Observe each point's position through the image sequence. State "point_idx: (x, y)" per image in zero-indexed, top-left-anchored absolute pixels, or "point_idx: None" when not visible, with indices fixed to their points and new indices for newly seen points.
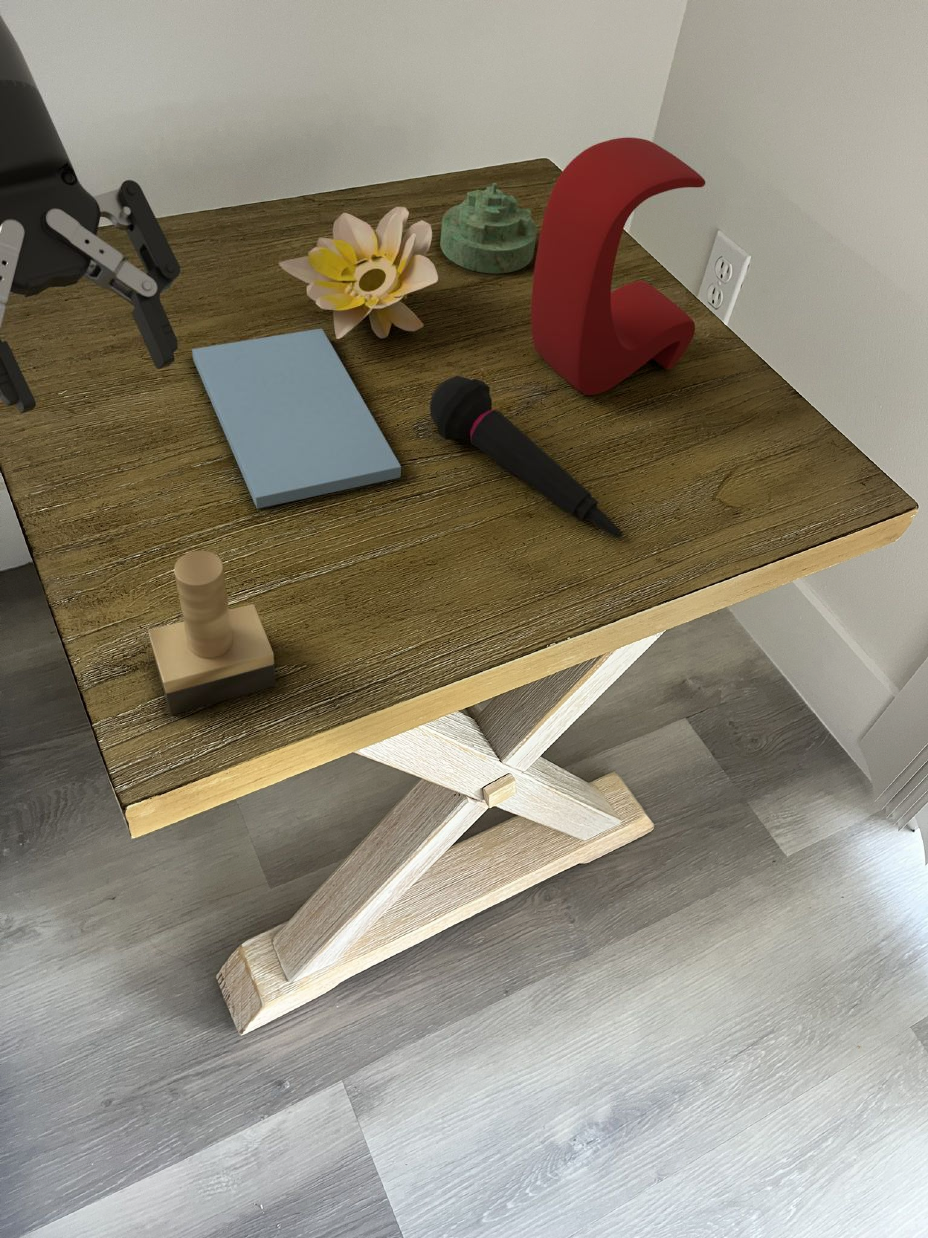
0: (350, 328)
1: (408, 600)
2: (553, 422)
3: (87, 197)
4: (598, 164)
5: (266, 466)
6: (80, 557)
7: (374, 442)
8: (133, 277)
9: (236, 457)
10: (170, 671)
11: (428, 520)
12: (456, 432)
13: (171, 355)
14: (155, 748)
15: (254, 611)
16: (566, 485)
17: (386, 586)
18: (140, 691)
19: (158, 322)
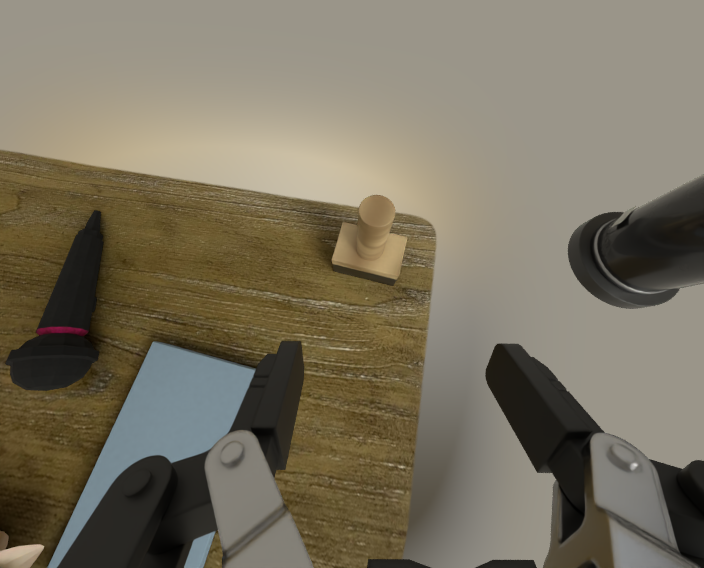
0: (16, 560)
1: (242, 246)
2: (16, 329)
3: None
4: None
5: (235, 402)
6: (397, 397)
7: (146, 378)
8: (245, 486)
9: None
10: (400, 242)
11: (180, 294)
12: (86, 341)
13: (285, 341)
14: (416, 238)
15: (334, 253)
16: (80, 246)
17: (245, 262)
18: (408, 273)
19: (268, 385)
